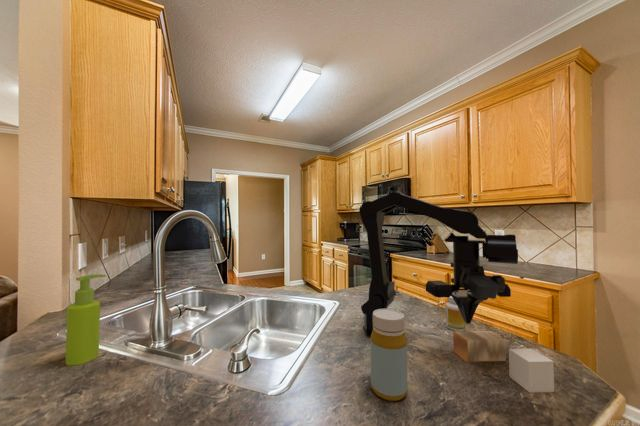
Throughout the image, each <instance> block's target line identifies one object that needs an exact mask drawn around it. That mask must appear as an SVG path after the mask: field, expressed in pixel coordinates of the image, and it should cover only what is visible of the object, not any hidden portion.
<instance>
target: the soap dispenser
mask: <svg viewBox="0 0 640 426" xmlns="http://www.w3.org/2000/svg"><path fill="white" fill-rule="evenodd" d="M105 277H107V275H106V274H101V273H100V274H97V273H96V274H88V275H87V274H86V275H83V276H78V277H75V281H79V282H80V283H79V284H80V285H79V288H78V289H77V290H75V291H74V303H73V304H70V305H68V306H67V307H66V333H65V335H66V336H65V337H66V338H65V363H64V364H65V365H66V366H68V367H69V366H71V367H72V366H79V365H83V364H86V363H89V362H90V361H94V360H95V359H96V358H98V356H99V355H100V353H99V352H100V324H101V323H100V321H101V317H100V315H101V301H100V300H95V299H94V298H95V295H94V294H95V289H94V288H92V287H90V285H91V284H90V280H91V279H95V278H105Z"/></svg>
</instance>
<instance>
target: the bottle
mask: <svg viewBox="0 0 640 426" xmlns="http://www.w3.org/2000/svg"><path fill="white" fill-rule="evenodd" d="M405 318H406V317H405V314H404V313H403V312H401V311H400V310H396V309H391V308H387V309H377V310H375V311H374V312H373V331H372V333H371V336H370V386H371V389H372V391H373V392H374V393H375V395H376V396H378V397H379V398H380V397H381V399H383V400H385V401H389V402H396V401H401V400H402V399H404V397H406V396H407V394H408V340H407V336H406V332H405V328H406V327H405V325H406V324H405V321H406V319H405Z"/></svg>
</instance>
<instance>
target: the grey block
mask: <svg viewBox="0 0 640 426" xmlns="http://www.w3.org/2000/svg"><path fill="white" fill-rule="evenodd" d="M508 359H509V360H508V368H509V370H508V371H509V378H510V379H512V380H513V381H514V382H515V383H517V384H518V385H519V386H520V387H522V388H523V389H525V390H526V391H527V392H529V393H535V394H536V393H555V369H554V361H553V360H552V359H551V358H549V357H546V356H545V355H543V354H542V353H540V352H538V351H536V350H534V349H533V348H509V349H508Z"/></svg>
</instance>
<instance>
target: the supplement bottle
mask: <svg viewBox="0 0 640 426" xmlns="http://www.w3.org/2000/svg"><path fill="white" fill-rule="evenodd" d="M447 300H448V301H447V302H446V303H445V326H446V328H447V329H449V330H451V331H465V330H466V323H465V322H464V319H463V317H462V315H461V313H460V311H459V309H458V306H457V304H456V303H455V301H454V299H453V298H452V296H450V297H447Z"/></svg>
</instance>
